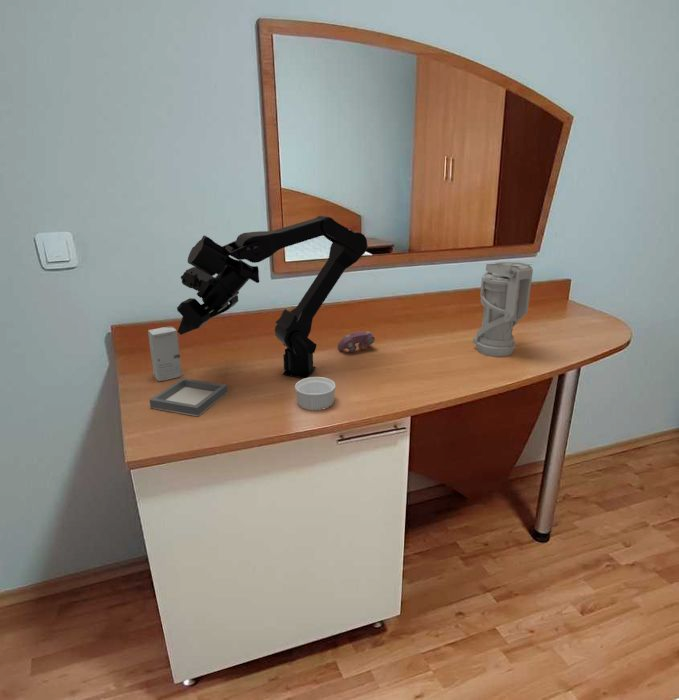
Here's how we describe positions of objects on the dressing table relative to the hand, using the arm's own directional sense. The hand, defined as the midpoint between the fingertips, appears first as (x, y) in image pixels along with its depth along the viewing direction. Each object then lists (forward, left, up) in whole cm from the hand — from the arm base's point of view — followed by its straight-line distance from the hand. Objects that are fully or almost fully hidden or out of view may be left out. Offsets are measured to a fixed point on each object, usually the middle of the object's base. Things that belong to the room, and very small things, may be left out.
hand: (190, 326), depth 121 cm
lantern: (-69, -42, -14) cm, 81 cm away
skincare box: (+7, +1, -14) cm, 16 cm away
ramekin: (-33, +3, -14) cm, 35 cm away
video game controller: (-31, -31, -14) cm, 46 cm away
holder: (-6, +10, -13) cm, 18 cm away
